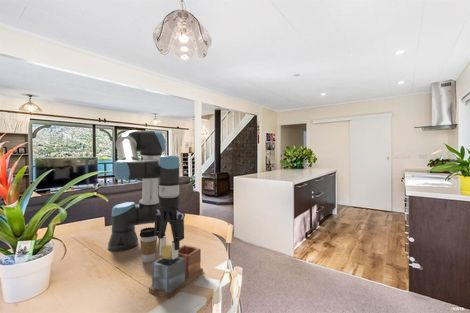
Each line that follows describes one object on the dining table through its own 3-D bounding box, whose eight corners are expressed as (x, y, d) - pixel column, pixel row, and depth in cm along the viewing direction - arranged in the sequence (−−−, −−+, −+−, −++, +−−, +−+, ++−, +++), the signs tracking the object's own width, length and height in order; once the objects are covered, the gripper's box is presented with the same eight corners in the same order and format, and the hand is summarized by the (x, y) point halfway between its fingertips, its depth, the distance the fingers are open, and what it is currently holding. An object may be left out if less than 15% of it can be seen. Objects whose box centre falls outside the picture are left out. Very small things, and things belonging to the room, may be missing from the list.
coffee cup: (146, 265, 104) (147, 233, 104) (135, 260, 109) (135, 229, 109) (161, 258, 111) (161, 228, 111) (150, 254, 116) (150, 225, 116)
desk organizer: (148, 291, 85) (148, 263, 84) (184, 266, 103) (184, 243, 103) (169, 299, 80) (169, 269, 80) (203, 271, 99) (203, 248, 99)
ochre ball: (158, 260, 86) (158, 246, 86) (168, 254, 90) (168, 242, 90) (168, 262, 83) (169, 249, 83) (178, 257, 88) (178, 244, 88)
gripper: (144, 195, 87) (143, 255, 88) (181, 199, 79) (181, 265, 79) (158, 192, 94) (158, 248, 94) (194, 196, 86) (194, 257, 86)
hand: (168, 256), depth 87 cm, fingers open, 5 cm apart
